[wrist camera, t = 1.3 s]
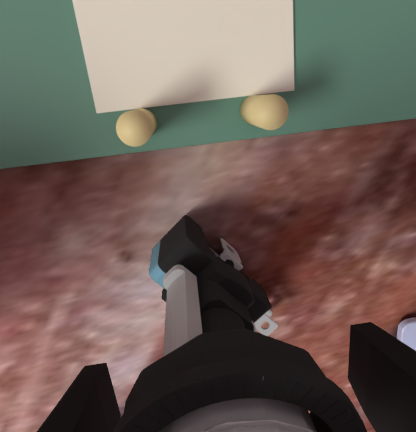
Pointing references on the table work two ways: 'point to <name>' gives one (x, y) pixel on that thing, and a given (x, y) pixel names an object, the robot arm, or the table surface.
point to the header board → (195, 72)
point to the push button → (226, 354)
